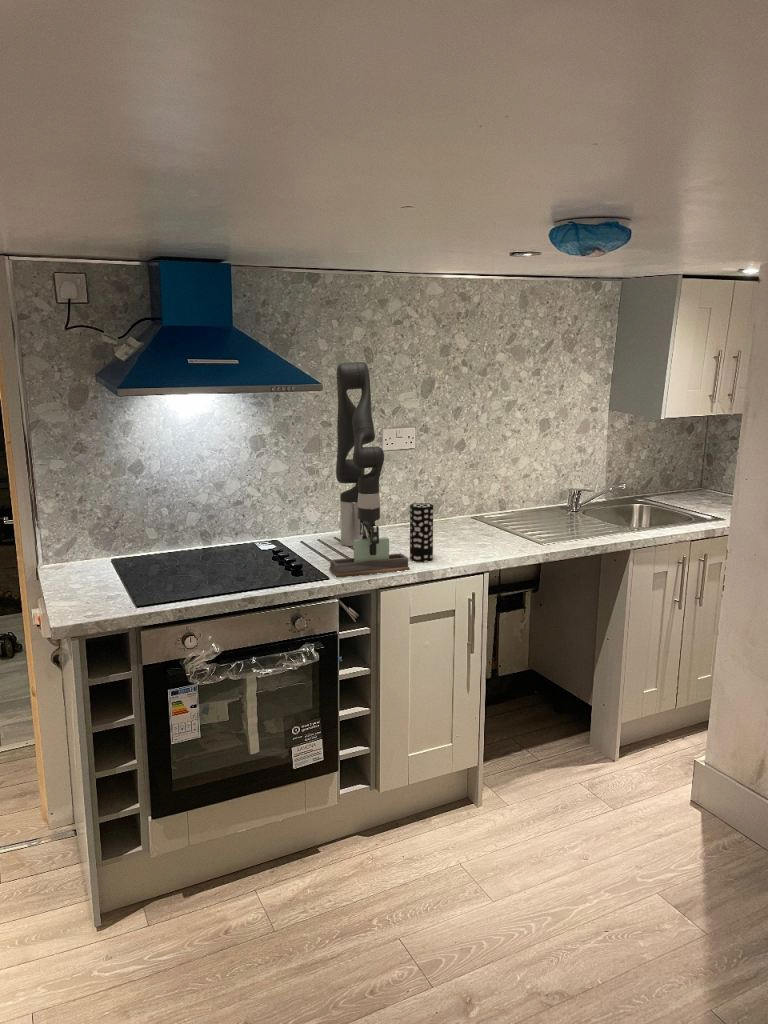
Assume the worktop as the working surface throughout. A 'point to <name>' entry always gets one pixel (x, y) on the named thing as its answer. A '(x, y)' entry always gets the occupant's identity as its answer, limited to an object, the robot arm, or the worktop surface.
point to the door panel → (364, 550)
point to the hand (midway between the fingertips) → (369, 551)
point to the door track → (368, 566)
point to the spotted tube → (421, 532)
